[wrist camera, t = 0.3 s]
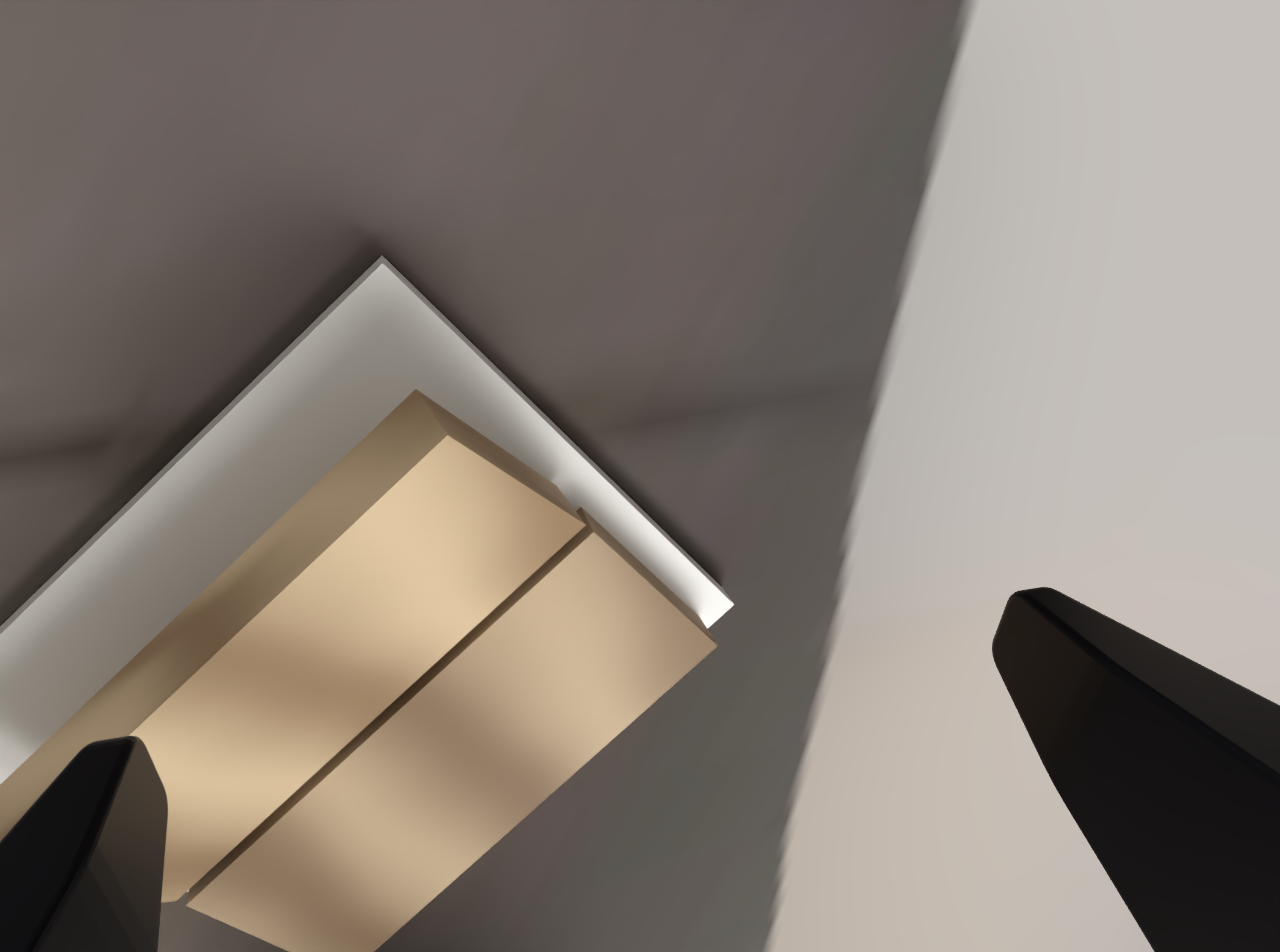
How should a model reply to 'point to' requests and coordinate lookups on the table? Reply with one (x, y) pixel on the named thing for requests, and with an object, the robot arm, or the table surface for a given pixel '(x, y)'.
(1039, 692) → the robot arm
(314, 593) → the raised plank
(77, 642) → the board
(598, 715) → the laid plank
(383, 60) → the table surface
